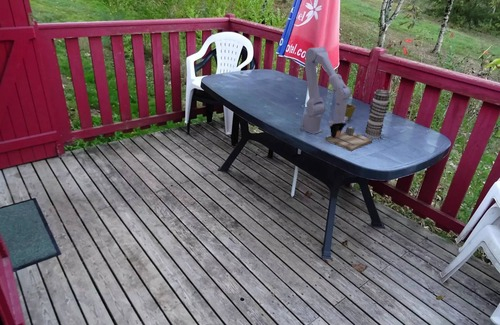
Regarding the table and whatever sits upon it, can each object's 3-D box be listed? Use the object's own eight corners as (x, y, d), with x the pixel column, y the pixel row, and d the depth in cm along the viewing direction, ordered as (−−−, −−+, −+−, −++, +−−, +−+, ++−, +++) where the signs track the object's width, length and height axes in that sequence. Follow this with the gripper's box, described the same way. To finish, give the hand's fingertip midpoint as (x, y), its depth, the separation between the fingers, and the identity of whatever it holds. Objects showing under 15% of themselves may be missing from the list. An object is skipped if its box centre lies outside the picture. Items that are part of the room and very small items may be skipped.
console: (325, 140, 187) (325, 137, 186) (346, 132, 198) (347, 129, 197) (351, 151, 176) (351, 148, 175) (372, 142, 188) (372, 139, 187)
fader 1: (331, 136, 187) (332, 129, 185) (334, 134, 189) (335, 128, 187) (335, 137, 185) (336, 131, 183) (339, 136, 187) (340, 130, 185)
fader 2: (345, 133, 192) (346, 127, 190) (348, 131, 193) (349, 125, 192) (350, 135, 190) (351, 128, 188) (353, 133, 192) (354, 127, 190)
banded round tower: (381, 139, 192) (393, 94, 181) (364, 136, 194) (374, 91, 183) (380, 133, 200) (391, 89, 189) (363, 130, 202) (373, 87, 191)
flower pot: (340, 116, 222) (343, 102, 218) (353, 120, 217) (356, 106, 212) (332, 119, 216) (335, 104, 212) (345, 123, 211) (348, 108, 207)
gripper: (337, 116, 173) (333, 141, 180) (354, 110, 182) (349, 135, 189) (326, 112, 178) (321, 137, 184) (343, 107, 187) (338, 131, 193)
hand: (335, 136), depth 187 cm, fingers closed on fader 1, 3 cm apart
